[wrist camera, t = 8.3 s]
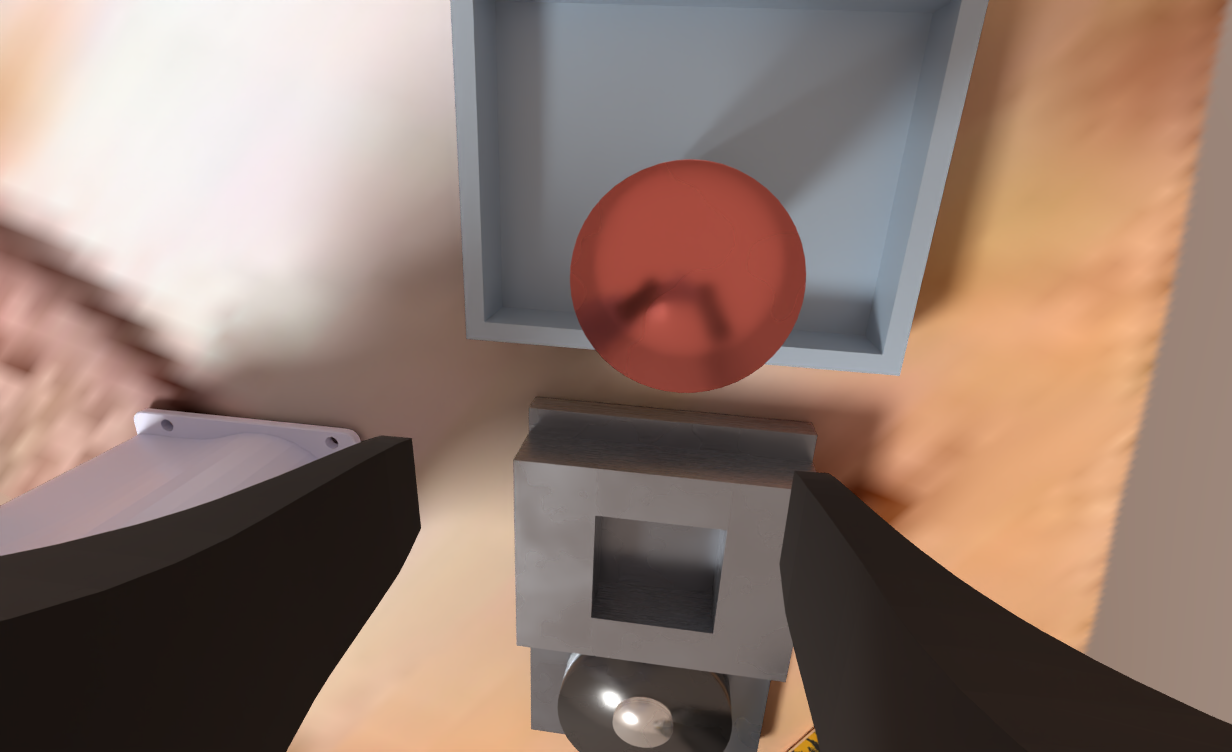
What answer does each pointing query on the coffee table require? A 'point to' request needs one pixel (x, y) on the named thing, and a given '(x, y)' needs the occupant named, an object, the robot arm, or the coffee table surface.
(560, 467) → the block
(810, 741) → the medicine bottle
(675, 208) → the pin
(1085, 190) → the coffee table surface
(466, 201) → the tray
